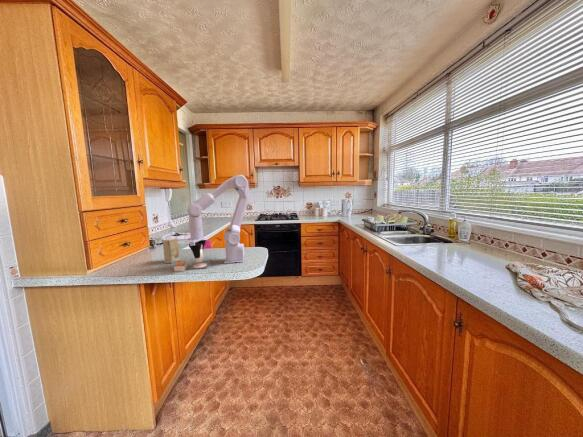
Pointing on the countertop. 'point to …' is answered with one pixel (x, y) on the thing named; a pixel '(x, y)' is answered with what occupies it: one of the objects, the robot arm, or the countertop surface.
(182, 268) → the button housing
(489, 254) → the countertop surface
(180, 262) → the button
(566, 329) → the countertop surface
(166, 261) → the skincare box
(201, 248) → the rose marker
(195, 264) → the picture board
